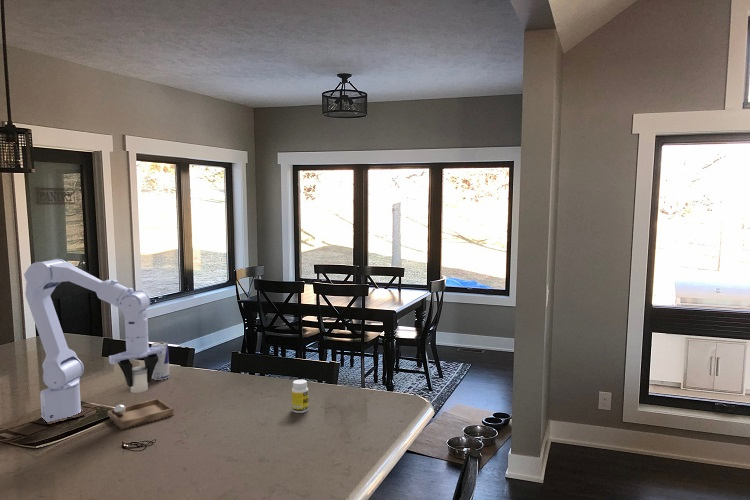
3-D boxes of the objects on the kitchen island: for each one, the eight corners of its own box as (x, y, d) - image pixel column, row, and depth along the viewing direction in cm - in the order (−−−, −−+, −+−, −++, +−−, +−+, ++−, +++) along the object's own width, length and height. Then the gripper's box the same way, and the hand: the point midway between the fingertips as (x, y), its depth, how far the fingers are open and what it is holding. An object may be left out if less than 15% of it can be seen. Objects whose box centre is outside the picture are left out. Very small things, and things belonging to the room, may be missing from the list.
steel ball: (116, 418, 148) (115, 407, 147) (112, 415, 150) (112, 404, 149) (127, 415, 150) (127, 404, 149) (124, 412, 152) (123, 402, 152)
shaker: (133, 394, 147) (132, 373, 146) (127, 389, 150) (127, 368, 150) (150, 390, 150) (150, 369, 149) (144, 385, 154) (143, 365, 153)
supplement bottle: (305, 413, 152) (304, 384, 151) (289, 412, 153) (289, 383, 152) (310, 407, 157) (310, 379, 156) (295, 406, 158) (294, 378, 157)
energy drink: (172, 375, 186) (170, 341, 185) (164, 381, 180) (163, 346, 179) (157, 375, 186) (155, 341, 185) (149, 380, 181) (147, 345, 180)
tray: (121, 430, 142) (120, 422, 142) (107, 418, 150) (107, 411, 150) (173, 415, 151) (173, 408, 151) (158, 404, 159) (158, 398, 159)
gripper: (113, 343, 141) (116, 393, 142) (168, 333, 151) (170, 381, 152) (105, 338, 146) (107, 387, 147) (158, 329, 156) (161, 375, 157)
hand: (139, 383), depth 150 cm, fingers closed on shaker, 4 cm apart
